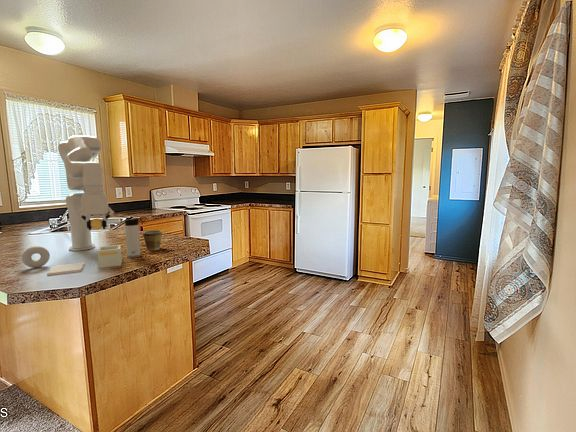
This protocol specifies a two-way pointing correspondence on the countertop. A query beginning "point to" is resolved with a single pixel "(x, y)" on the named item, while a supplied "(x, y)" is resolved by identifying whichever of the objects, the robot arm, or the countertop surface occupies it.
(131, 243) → the travel mug
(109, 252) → the cream lidded box
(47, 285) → the countertop surface
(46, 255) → the donut
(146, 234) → the ceramic cup
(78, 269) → the beige square board
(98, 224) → the ochre ball
